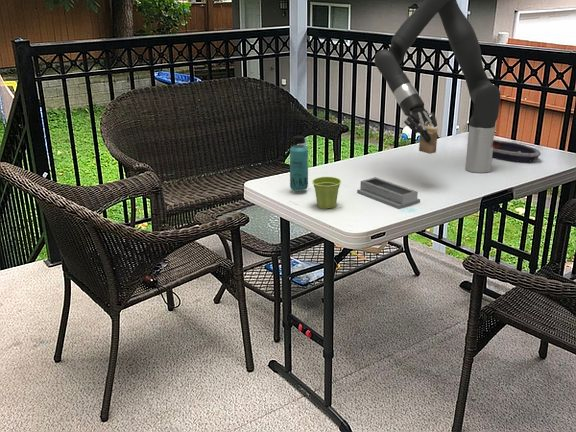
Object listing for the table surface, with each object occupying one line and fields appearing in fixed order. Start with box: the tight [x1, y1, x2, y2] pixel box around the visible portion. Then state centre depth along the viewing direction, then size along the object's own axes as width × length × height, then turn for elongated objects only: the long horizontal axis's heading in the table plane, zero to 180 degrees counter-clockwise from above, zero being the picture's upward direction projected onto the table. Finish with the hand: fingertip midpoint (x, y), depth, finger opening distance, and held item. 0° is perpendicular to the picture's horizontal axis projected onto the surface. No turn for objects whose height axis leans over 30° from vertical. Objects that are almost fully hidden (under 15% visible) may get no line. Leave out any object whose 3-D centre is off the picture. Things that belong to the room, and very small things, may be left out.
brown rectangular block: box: [418, 125, 439, 155], centre depth 205 cm, size 3×5×8 cm, turn 36°
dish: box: [492, 139, 542, 163], centre depth 247 cm, size 16×31×5 cm, turn 38°
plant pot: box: [311, 176, 342, 210], centre depth 195 cm, size 9×9×9 cm
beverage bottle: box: [289, 135, 309, 191], centre depth 207 cm, size 6×7×20 cm
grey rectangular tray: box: [356, 176, 421, 210], centre depth 202 cm, size 10×20×4 cm, turn 36°
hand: (432, 140), depth 203 cm, fingers closed on brown rectangular block, 3 cm apart
